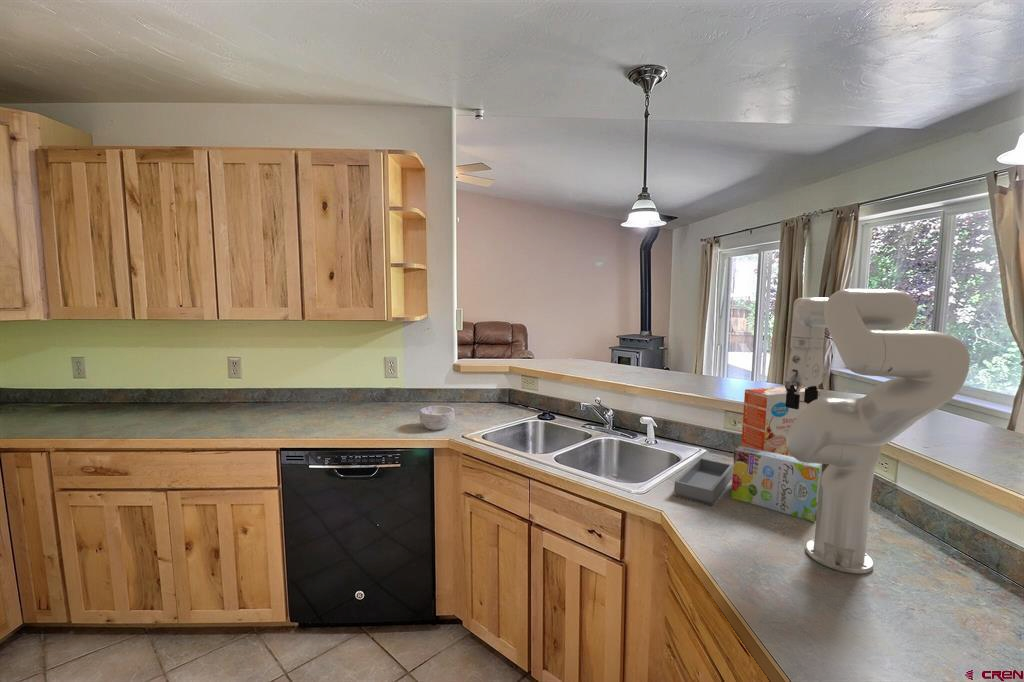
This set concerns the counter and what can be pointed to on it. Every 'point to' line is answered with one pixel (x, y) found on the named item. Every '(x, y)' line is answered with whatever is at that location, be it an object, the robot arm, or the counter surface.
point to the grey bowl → (436, 417)
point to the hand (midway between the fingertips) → (801, 405)
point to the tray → (703, 481)
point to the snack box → (776, 482)
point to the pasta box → (769, 419)
